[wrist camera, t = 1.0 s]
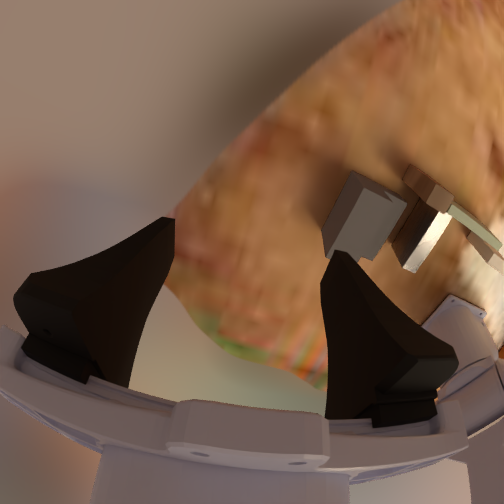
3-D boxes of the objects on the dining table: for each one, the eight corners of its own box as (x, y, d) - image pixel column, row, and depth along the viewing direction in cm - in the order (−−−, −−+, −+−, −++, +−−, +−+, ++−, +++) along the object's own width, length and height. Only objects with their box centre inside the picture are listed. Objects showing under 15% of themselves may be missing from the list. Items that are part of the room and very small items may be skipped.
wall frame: (491, 243, 21) (514, 270, 17) (482, 255, 22) (503, 283, 18) (411, 161, 19) (438, 180, 15) (400, 178, 20) (423, 201, 16)
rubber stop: (399, 194, 21) (419, 217, 17) (367, 248, 24) (378, 278, 20) (351, 169, 20) (364, 187, 17) (321, 229, 24) (325, 257, 20)
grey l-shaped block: (479, 220, 20) (502, 244, 16) (445, 272, 23) (461, 300, 20) (428, 183, 19) (452, 204, 15) (391, 245, 23) (405, 275, 19)
